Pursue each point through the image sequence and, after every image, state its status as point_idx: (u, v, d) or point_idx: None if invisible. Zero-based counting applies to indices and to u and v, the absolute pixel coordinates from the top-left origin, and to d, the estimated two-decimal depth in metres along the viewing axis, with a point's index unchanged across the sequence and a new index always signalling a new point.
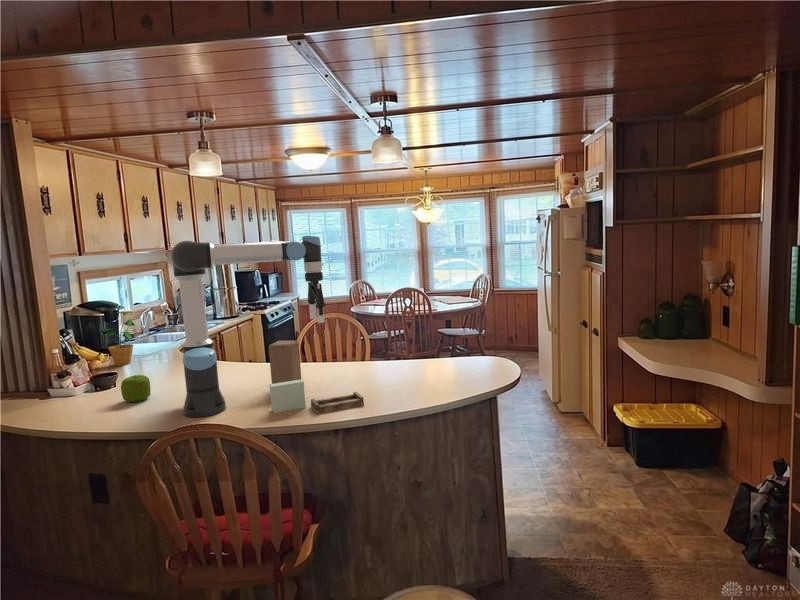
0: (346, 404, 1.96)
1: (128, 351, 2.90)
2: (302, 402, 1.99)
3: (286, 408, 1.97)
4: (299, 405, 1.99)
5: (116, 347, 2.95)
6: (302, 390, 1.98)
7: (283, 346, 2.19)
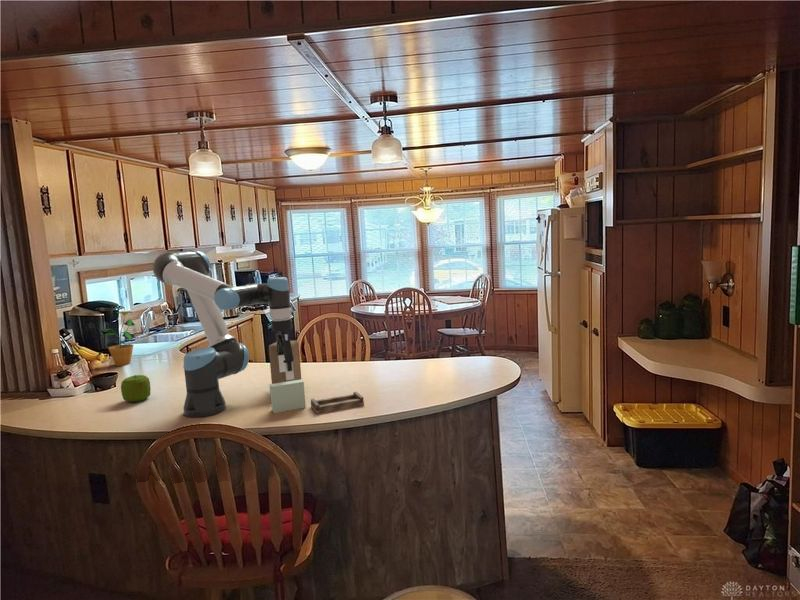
0: (346, 404, 1.96)
1: (128, 351, 2.90)
2: (302, 402, 1.99)
3: (286, 408, 1.97)
4: (299, 405, 1.99)
5: (116, 347, 2.95)
6: (302, 390, 1.98)
7: None
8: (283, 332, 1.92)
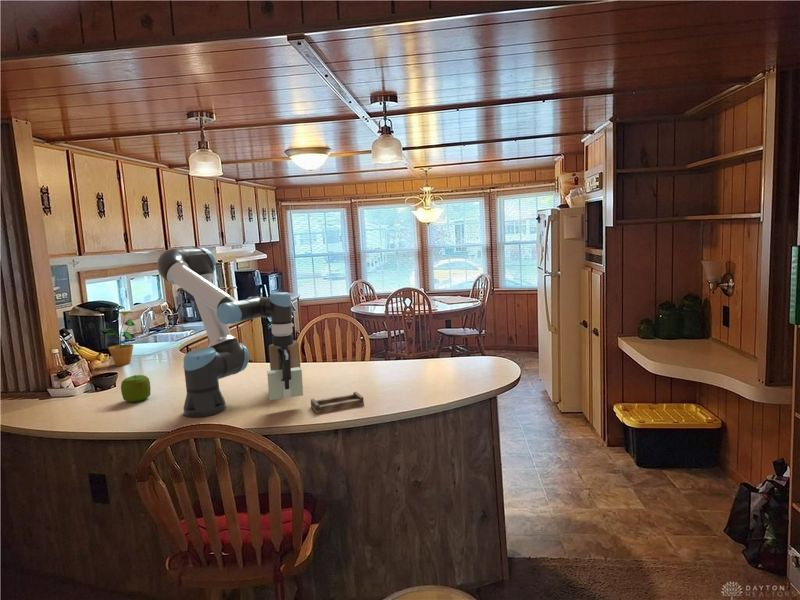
0: (346, 404, 1.96)
1: (128, 351, 2.90)
2: (299, 390, 1.99)
3: None
4: (297, 392, 1.98)
5: (116, 347, 2.95)
6: (300, 378, 1.98)
7: None
8: (284, 347, 1.93)
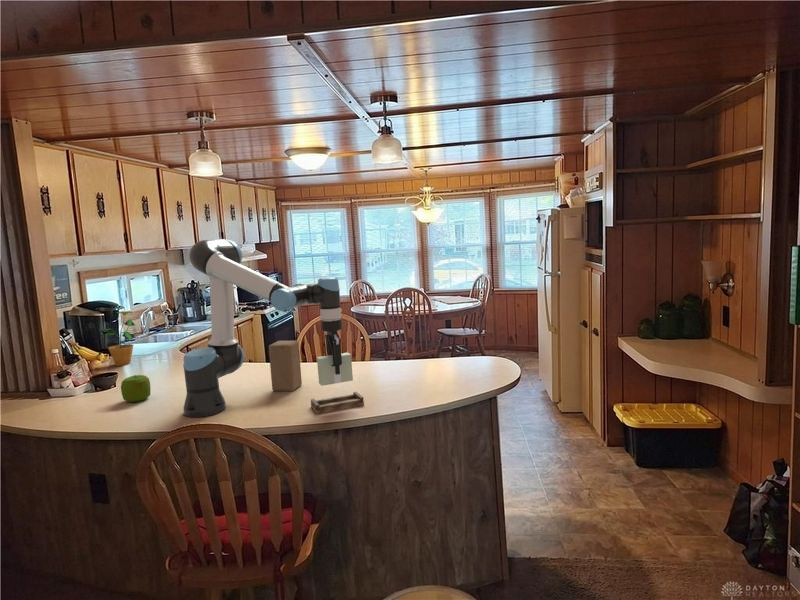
0: (346, 404, 1.96)
1: (128, 351, 2.90)
2: (349, 375, 1.98)
3: None
4: (347, 378, 1.97)
5: (116, 347, 2.95)
6: (349, 363, 1.97)
7: (283, 346, 2.19)
8: (334, 332, 1.92)
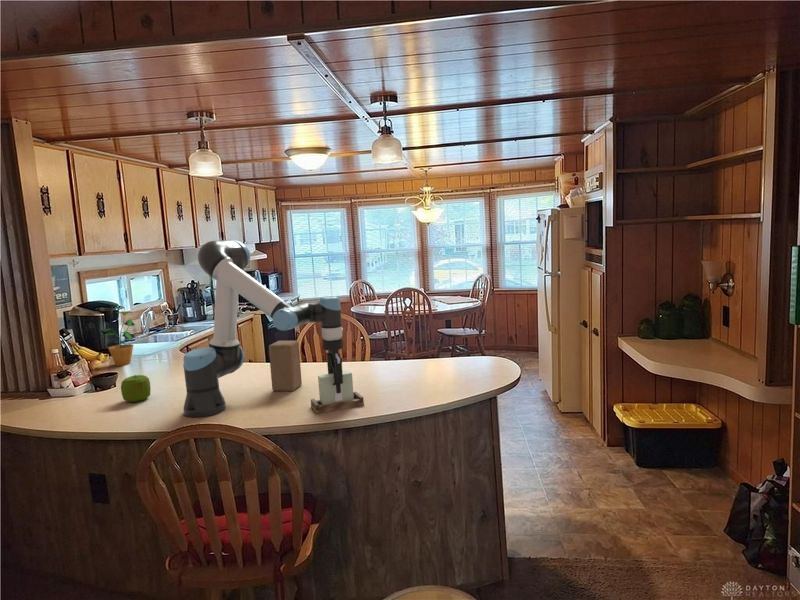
0: (346, 404, 1.96)
1: (128, 351, 2.90)
2: (350, 393, 1.99)
3: None
4: (348, 396, 1.98)
5: (116, 347, 2.95)
6: (350, 381, 1.98)
7: (283, 346, 2.19)
8: (335, 351, 1.93)
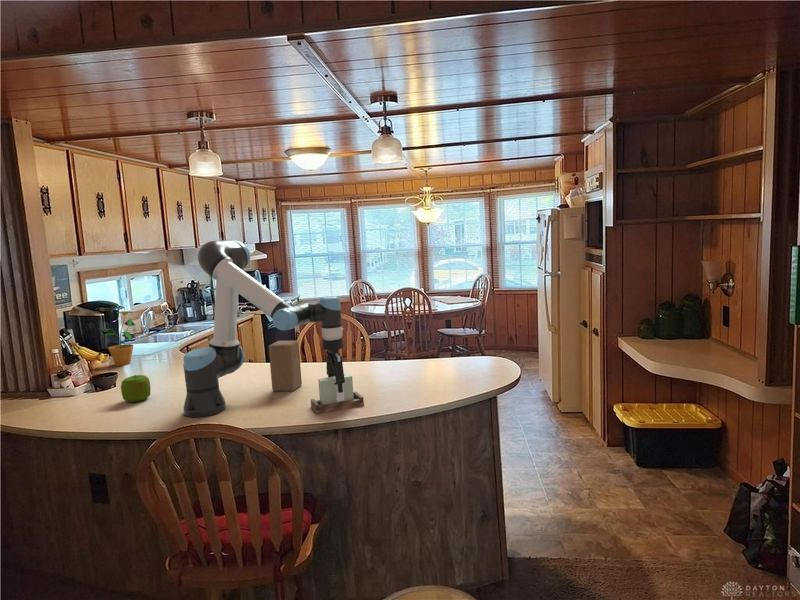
0: (346, 404, 1.96)
1: (128, 351, 2.90)
2: (350, 397, 1.99)
3: (335, 402, 1.97)
4: (348, 399, 1.98)
5: (116, 347, 2.95)
6: (351, 384, 1.98)
7: (283, 346, 2.19)
8: (335, 351, 1.93)
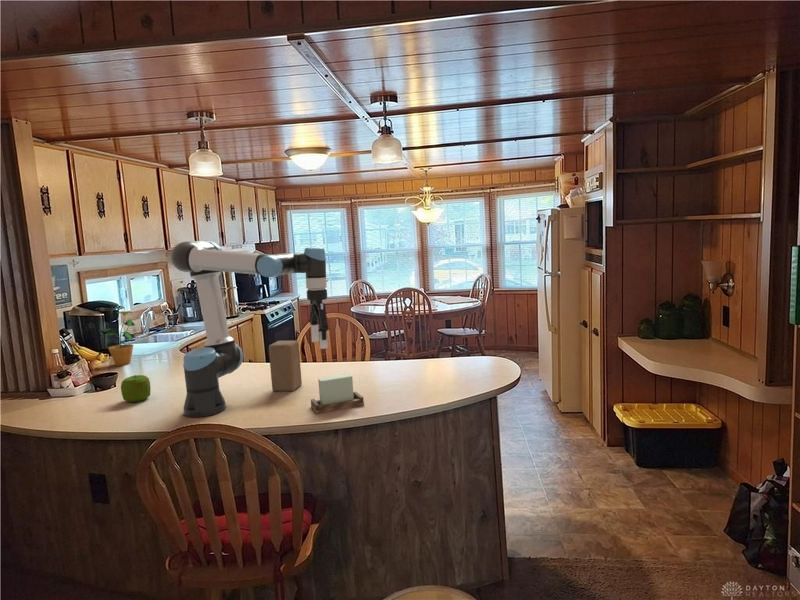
0: (346, 404, 1.96)
1: (128, 351, 2.90)
2: (350, 397, 1.99)
3: (335, 402, 1.97)
4: (348, 399, 1.98)
5: (116, 347, 2.95)
6: (351, 384, 1.98)
7: (283, 346, 2.19)
8: (318, 301, 1.94)
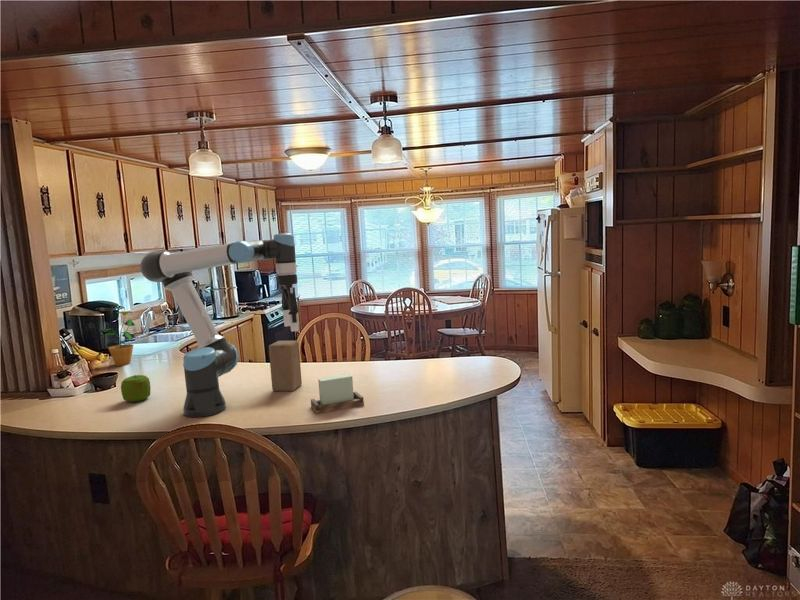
0: (346, 404, 1.96)
1: (128, 351, 2.90)
2: (350, 397, 1.99)
3: (335, 402, 1.97)
4: (348, 399, 1.98)
5: (116, 347, 2.95)
6: (351, 384, 1.98)
7: (283, 346, 2.19)
8: (288, 286, 2.00)
